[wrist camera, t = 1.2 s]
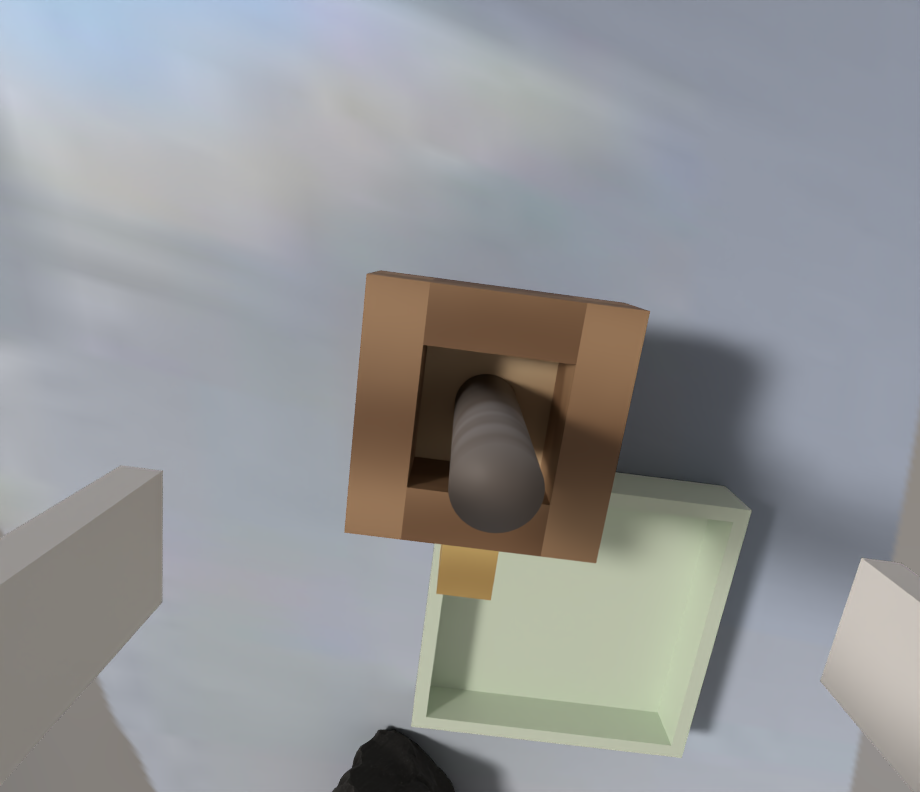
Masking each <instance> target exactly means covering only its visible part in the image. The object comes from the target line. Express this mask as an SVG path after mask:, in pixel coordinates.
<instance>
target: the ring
mask: <svg viewBox="0 0 920 792" xmlns="http://www.w3.org/2000/svg"><path fill="white" fill-rule="evenodd" d="M649 314H650V311H647V310H644V309H641V308H638V307H635V306H632V305H629V304H626V303H622V302H614V301H607V300H599V299H592V298H584V297H576V296H569V295H561V294H554V293H546V292H539V291H531V290H524V289H516V288H509V287H501V286H494V285H486V284H479V283H471V282H464V281H456V280H448V279H441V278H433V277H426V276H418V275H411V274H403V273H396V272H388V271H377V272H372V273H368V274H367V276H366V288H365V299H364V311H363V323H362V334H361V346H360V358H359V369H358V381H357V393H356V404H355V416H354V427H353V439H352V451H351V462H350V474H349V486H348V497H347V509H346V520H345V533H353V534H361V535H369V536H377V537H385V538H393V539H402V540H410V541H418V542H426V543H434V544H441V548H440V557H439V569H438V580H437V591H436V594H442V595H450V596H458V597H467V598H475V599H483V600H491V596H492V590H493V584H494V578H495V572H496V566H497V560H498V554H499V552H507V553H515V554H524V555H532V556H540V557H548V558H556V559H564V560H572V561H581V562H589V563H596V562H597V557H598V552H599V548H600V543H601V538H602V534H603V529H604V524H605V520H606V515H607V510H608V506H609V501H610V496H611V492H612V487H613V482H614V477H615V473H616V468H617V463H618V459H619V454H620V449H621V445H622V440H623V435H624V431H625V426H626V421H627V417H628V412H629V407H630V403H631V398H632V393H633V388H634V384H635V379H636V374H637V370H638V365H639V360H640V356H641V351H642V346H643V342H644V337H645V332H646V328H647V323H648V318H649ZM427 345H428V346H436V347H443V348H451V349H459V350H466V351H474V352H482V353H489V354H497V355H505V356H512V357H520V358H528V359H535V360H543V361H551V362H558V363H559V364H558V369H557V375H556V381H555V386H554V392H553V398H552V403H551V409H550V415H549V420H548V426H547V432H546V437H545V443H544V449H543V454H542V460H541V466H540V468H541V471H542V474H543V477H544V482H545V493H544V498H543V502H542V504H541V507H540V508H539V510H538V512H537V513H536V514H535V516H534V517H533V518H532V519H531V520H530V521H529V522H527V523H526V524H525V525H523V526H521V527H520V528H518V529H515V530H512V531H509V532H504V533H488V532H483V531H480V530H477V529H475V528H472V527H471V526H469V525H468V524H466V523H465V522H464V521H462V520H461V519H460V517H459V516H458V515H457V514H456V512H455V511H454V509H453V507H452V505H451V502H450V499H449V493H448V485H449V472H450V461H446V460H438V459H430V458H422V457H415V449H416V440H417V431H418V423H419V414H420V406H421V397H422V388H423V380H424V371H425V363H426V354H427Z"/></svg>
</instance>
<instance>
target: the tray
mask: <svg viewBox="0 0 920 792" xmlns="http://www.w3.org/2000/svg"><path fill="white" fill-rule="evenodd" d="M751 511H752V510H751V509H750V508H748V507H747V506H746V505H745V504H744V503H743V502H742V501H741V500H740V499H739V498H737V497H736V496H735V495H734V494H733V493H732V492H731V491H730V490H729V489H728V488H727V487H725V486H720V485H712V484H704V483H696V482H688V481H681V480H673V479H665V478H657V477H649V476H641V475H633V474H625V473H617V472H616V473H615V477H614V482H613V487H612V492H611V496H610V501H609V506H608V510H607V515H606V520H605V524H604V529H603V534H602V538H601V543H600V548H599V552H598V557H597V562H596V563H589V562H581V561H572V560H564V559H556V558H548V557H540V556H532V555H524V554H515V553H507V552H499V554H498V560H497V566H496V572H495V578H494V584H493V590H492V596H491V600H483V599H475V598H467V597H458V596H450V595H442V594H436V591H437V580H438V569H439V557H440V548H441V544H434V552H433V560H432V567H431V575H430V583H429V590H428V598H427V605H426V613H425V621H424V628H423V636H422V644H421V651H420V659H419V666H418V674H417V682H416V690H415V698H414V707H413V715H412V724H411V727H419V728H428V729H437V730H445V731H454V732H462V733H471V734H480V735H488V736H497V737H506V738H514V739H523V740H532V741H540V742H549V743H557V744H566V745H575V746H583V747H592V748H601V749H609V750H618V751H626V752H635V753H644V754H652V755H661V756H670V757H678V758H682V755H683V751H684V747H685V744H686V740H687V737H688V733H689V730H690V726H691V723H692V719H693V716H694V712H695V709H696V705H697V702H698V698H699V695H700V691H701V688H702V684H703V681H704V677H705V674H706V670H707V666H708V663H709V659H710V656H711V652H712V649H713V645H714V642H715V638H716V635H717V631H718V628H719V624H720V621H721V617H722V614H723V610H724V607H725V603H726V600H727V596H728V593H729V589H730V585H731V582H732V578H733V575H734V571H735V568H736V564H737V561H738V557H739V554H740V550H741V547H742V543H743V540H744V536H745V533H746V529H747V526H748V522H749V519H750V515H751Z"/></svg>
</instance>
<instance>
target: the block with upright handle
mask: <svg viewBox="0 0 920 792" xmlns="http://www.w3.org/2000/svg"><path fill="white" fill-rule="evenodd" d="M558 364H559V363H558V362H551V361H543V360H535V359H528V358H520V357H512V356H505V355H497V354H489V353H482V352H474V351H466V350H459V349H451V348H443V347H436V346H428V345H427V354H426V363H425V371H424V380H423V388H422V397H421V406H420V414H419V423H418V431H417V440H416V449H415V457H422V458H430V459H438V460H446V461H450V472H449V485H448V493H449V499H450V502H451V505H452V507H453V509H454V511H455V512H456V514H457V515H458V516H459V517H460V519H461V520H462V521H464V522H465V523H466V524H468V525H469V526H471V527H472V528H475V529H477V530H480V531H483V532H488V533H504V532H509V531H512V530H515V529H518V528H520V527H521V526H523V525H525V524H526V523H527V522H529V521H530V520H531V519H532V518H533V517H534V516H535V514H536V513H537V512H538V510H539V508H540V507H541V504H542V502H543V498H544V493H545V482H544V477H543V474H542V471H541V468H540V466H541V460H542V454H543V449H544V443H545V437H546V432H547V426H548V420H549V415H550V409H551V403H552V398H553V392H554V386H555V381H556V375H557V369H558Z"/></svg>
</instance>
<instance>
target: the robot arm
mask: <svg viewBox="0 0 920 792" xmlns="http://www.w3.org/2000/svg"><path fill="white" fill-rule="evenodd" d="M162 526H163V471H161V470H153V469H145V468H137V467H129V466H119V467H117V468H116V469H114V470H112V471H111V472H109V473H107V474H106V475H104V476H102V477H101V478H99V479H97V480H96V481H94V482H93V483H91V484H89V485H88V486H86V487H84V488H83V489H81V490H79V491H78V492H76V493H74V494H73V495H71V496H69V497H68V498H66V499H64V500H63V501H61V502H59V503H58V504H56V505H54V506H53V507H51V508H49V509H48V510H46V511H44V512H43V513H41V514H39V515H38V516H36V517H34V518H33V519H31V520H29V521H28V522H26V523H25V524H23V525H21V526H20V527H18V528H16V529H15V530H13V531H11V532H10V533H8V534H6V535H5V536H3V537H1V538H0V786H1V785H2V783H3V782H4V781H5V780H6V779H7V778H8V777H9V775H10V774H11V773H12V772H13V771H14V770H15V769H16V767H17V766H18V765H19V764H20V763H21V762H22V761H23V760H24V758H25V757H26V756H27V755H28V754H29V753H30V752H31V750H32V749H33V748H34V747H35V746H36V745H37V744H38V743H39V741H40V740H41V739H42V738H43V737H44V736H45V735H46V733H47V732H48V731H49V730H50V729H51V728H52V727H53V726H54V724H55V723H56V722H57V721H58V720H59V719H60V718H61V716H62V715H63V714H64V713H65V712H66V711H67V710H68V709H69V707H70V706H71V705H72V704H73V703H74V702H75V701H76V699H77V698H78V697H79V696H80V695H81V694H82V692H83V691H84V690H85V689H86V688H87V687H88V686H89V685H90V684H91V682H92V681H93V680H94V679H95V678H96V677H97V676H98V674H99V673H100V672H101V671H102V670H103V669H104V668H105V667H106V665H107V664H108V663H109V662H110V661H111V660H112V659H113V657H114V656H115V655H116V654H117V653H118V652H119V651H120V650H121V648H122V647H123V646H124V645H125V644H126V643H127V642H128V640H129V639H130V638H131V637H132V636H133V635H134V634H135V633H136V631H137V630H138V629H139V628H140V627H141V626H142V625H143V623H144V622H145V621H146V620H147V619H148V618H149V617H150V615H151V614H152V613H153V612H154V611H155V610H156V609H157V608H158V606H159V605H160V604H161V603H162ZM820 681H821V683H822V684H823V685H824V686H825V687H826V689H827V690H828V691H829V692H830V693H831V695H832V696H833V697H834V698H835V699H836V701H837V702H838V703H839V704H840V705H841V707H842V708H843V709H844V710H845V711H846V713H847V714H848V715H849V716H850V717H851V719H852V720H853V721H854V722H855V723H856V725H857V726H858V727H859V728H860V729H861V731H862V732H863V733H864V734H865V735H866V737H867V738H868V739H869V740H870V741H871V743H873V745H874V746H875V747H876V749H877V750H878V751H879V752H880V753H881V755H882V756H883V757H884V758H885V759H886V761H887V762H888V763H889V764H890V765H891V766H892V768H893V769H894V770H895V771H896V773H897V774H898V775H899V776H900V777H901V779H902V780H903V781H904V782H905V783H906V785H907V786H908V787H909V788H910V789H911V791H912V792H920V576H919V575H918V574H916V573H915V572H913V571H912V570H911V569H909V568H908V567H906V566H905V565H904V564H902V563H898V562H890V561H882V560H874V559H866V558H861V561H860V564H859V567H858V570H857V573H856V576H855V579H854V582H853V585H852V588H851V591H850V594H849V597H848V600H847V603H846V606H845V609H844V612H843V615H842V618H841V621H840V624H839V627H838V630H837V633H836V635H835V638H834V641H833V644H832V647H831V650H830V653H829V656H828V659H827V662H826V665H825V668H824V671H823V674H822V677H821V680H820Z"/></svg>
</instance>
